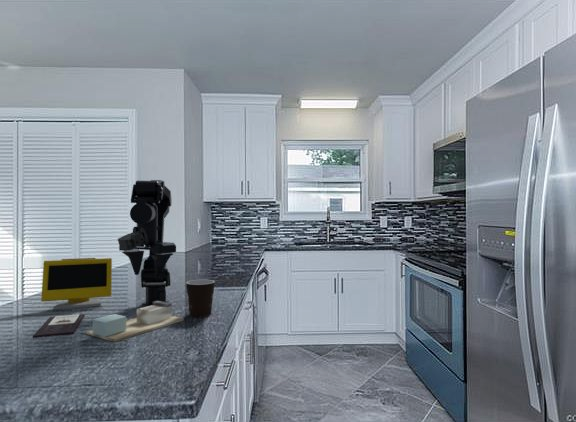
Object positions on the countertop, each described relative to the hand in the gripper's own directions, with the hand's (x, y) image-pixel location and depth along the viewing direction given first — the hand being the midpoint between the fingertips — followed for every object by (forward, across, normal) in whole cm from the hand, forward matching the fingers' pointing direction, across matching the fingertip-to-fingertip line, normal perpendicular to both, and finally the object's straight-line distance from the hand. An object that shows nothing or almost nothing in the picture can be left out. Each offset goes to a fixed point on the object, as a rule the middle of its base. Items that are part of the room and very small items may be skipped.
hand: (147, 276), depth 112 cm
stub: (+12, +4, -15) cm, 20 cm away
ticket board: (+12, +4, -6) cm, 15 cm away
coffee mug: (+13, +10, +13) cm, 21 cm away
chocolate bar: (+13, -14, -17) cm, 26 cm away
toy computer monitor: (+13, -32, -2) cm, 34 cm away
